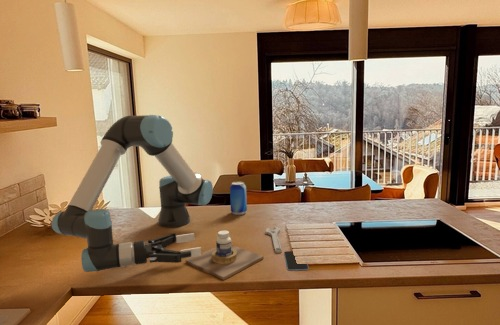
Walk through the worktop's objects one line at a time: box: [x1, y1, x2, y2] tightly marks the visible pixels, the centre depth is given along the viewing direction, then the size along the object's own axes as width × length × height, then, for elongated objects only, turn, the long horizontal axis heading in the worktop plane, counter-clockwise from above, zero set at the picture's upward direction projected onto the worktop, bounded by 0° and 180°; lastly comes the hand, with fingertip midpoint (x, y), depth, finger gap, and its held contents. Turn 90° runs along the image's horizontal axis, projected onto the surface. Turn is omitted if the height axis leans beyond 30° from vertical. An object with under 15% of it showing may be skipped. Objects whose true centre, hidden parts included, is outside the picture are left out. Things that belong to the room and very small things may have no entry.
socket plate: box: [185, 244, 264, 281], centre depth 125 cm, size 20×20×3 cm
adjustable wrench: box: [265, 226, 283, 254], centre depth 142 cm, size 25×6×2 cm, turn 177°
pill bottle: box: [215, 230, 232, 257], centre depth 124 cm, size 5×5×10 cm
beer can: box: [229, 181, 248, 216], centre depth 179 cm, size 8×8×16 cm
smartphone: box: [283, 250, 309, 272], centre depth 123 cm, size 7×1×15 cm
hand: (197, 243), depth 121 cm, fingers open, 13 cm apart
